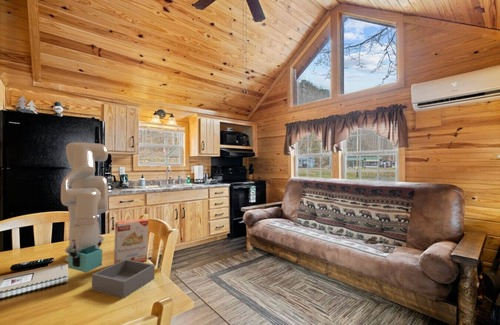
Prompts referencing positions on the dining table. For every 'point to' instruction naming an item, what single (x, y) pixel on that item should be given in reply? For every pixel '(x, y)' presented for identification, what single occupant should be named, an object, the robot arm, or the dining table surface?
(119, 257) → the cracker box
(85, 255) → the teal crate
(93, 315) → the dining table surface
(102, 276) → the charcoal crate
